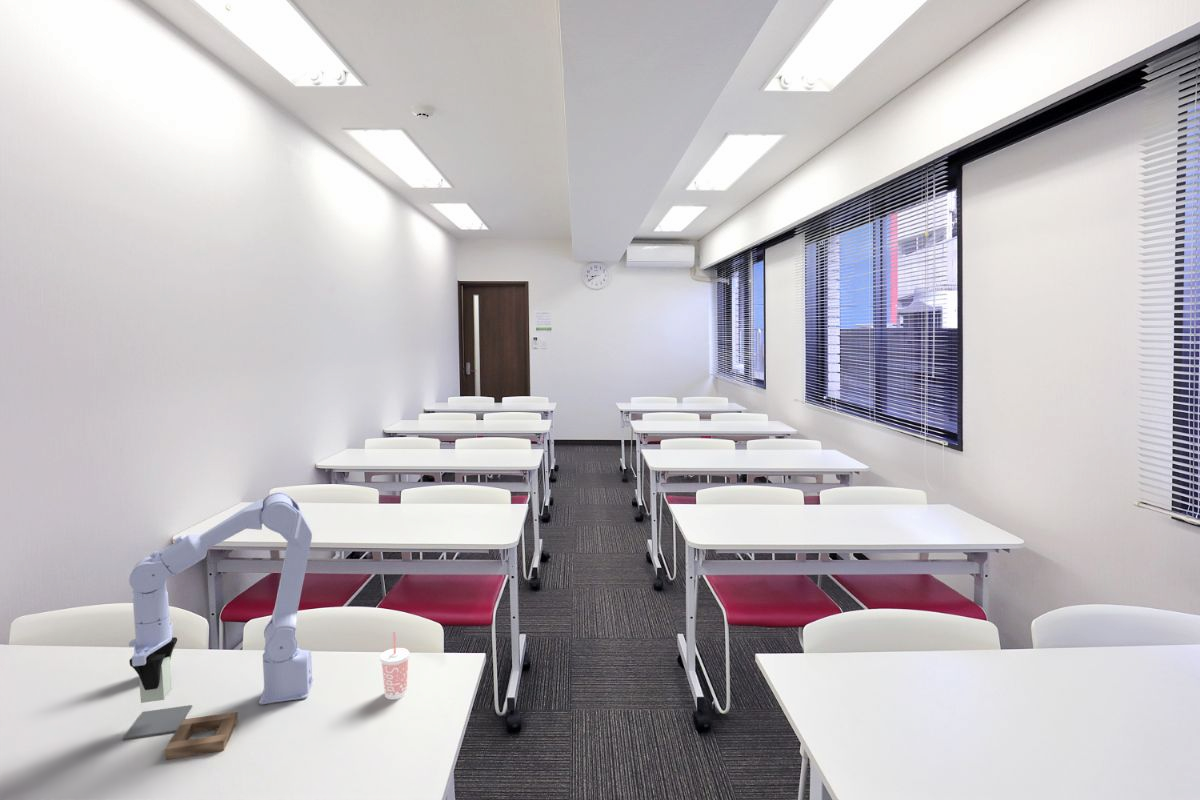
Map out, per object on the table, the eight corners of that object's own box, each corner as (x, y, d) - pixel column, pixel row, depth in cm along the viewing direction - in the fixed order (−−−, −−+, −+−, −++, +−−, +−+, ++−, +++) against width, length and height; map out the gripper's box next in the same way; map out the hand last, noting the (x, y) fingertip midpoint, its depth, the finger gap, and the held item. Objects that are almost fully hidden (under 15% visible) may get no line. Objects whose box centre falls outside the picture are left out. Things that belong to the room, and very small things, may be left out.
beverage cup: (375, 697, 136) (373, 636, 134) (394, 683, 141) (392, 624, 140) (397, 703, 133) (395, 641, 132) (416, 689, 139) (414, 629, 138)
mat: (192, 706, 132) (191, 704, 132) (176, 732, 123) (176, 730, 123) (142, 713, 130) (142, 711, 130) (123, 739, 121) (122, 738, 121)
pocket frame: (238, 720, 127) (237, 711, 127) (223, 750, 118) (223, 740, 118) (184, 728, 125) (183, 719, 124) (165, 759, 115) (164, 749, 115)
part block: (171, 689, 128) (169, 656, 128) (164, 699, 125) (161, 666, 124) (149, 692, 127) (147, 659, 127) (140, 702, 123) (138, 669, 123)
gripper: (144, 605, 130) (148, 667, 132) (111, 636, 116) (116, 705, 118) (182, 601, 132) (186, 662, 133) (154, 632, 118) (159, 699, 120)
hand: (156, 682), depth 126 cm, fingers closed on part block, 4 cm apart
